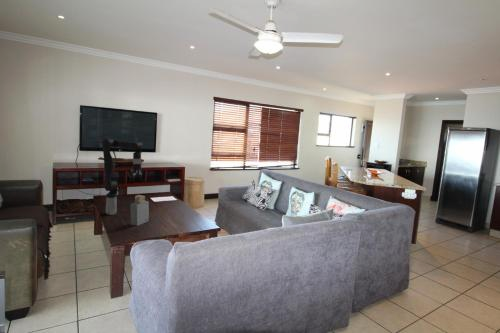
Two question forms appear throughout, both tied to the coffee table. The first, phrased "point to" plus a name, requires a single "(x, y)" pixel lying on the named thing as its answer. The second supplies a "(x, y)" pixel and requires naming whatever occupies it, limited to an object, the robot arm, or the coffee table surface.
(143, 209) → the hard drive box
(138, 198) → the maple cube
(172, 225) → the coffee table surface
